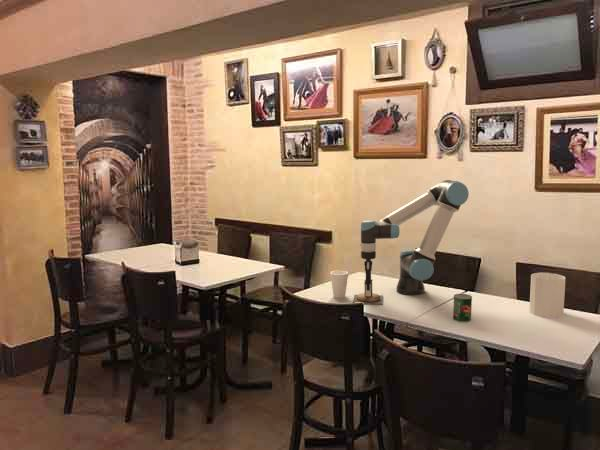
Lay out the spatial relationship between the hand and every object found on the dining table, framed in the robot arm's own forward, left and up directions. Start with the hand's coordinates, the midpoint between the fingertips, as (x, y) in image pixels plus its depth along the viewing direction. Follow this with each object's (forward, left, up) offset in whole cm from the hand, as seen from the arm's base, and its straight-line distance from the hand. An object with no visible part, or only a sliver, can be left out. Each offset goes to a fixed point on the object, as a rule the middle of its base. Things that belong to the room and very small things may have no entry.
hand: (368, 294), depth 264 cm
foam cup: (+16, -5, -3) cm, 17 cm away
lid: (0, 0, -2) cm, 2 cm away
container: (-83, +12, -3) cm, 84 cm away
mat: (0, 0, -3) cm, 3 cm away
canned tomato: (-43, +26, -3) cm, 50 cm away
